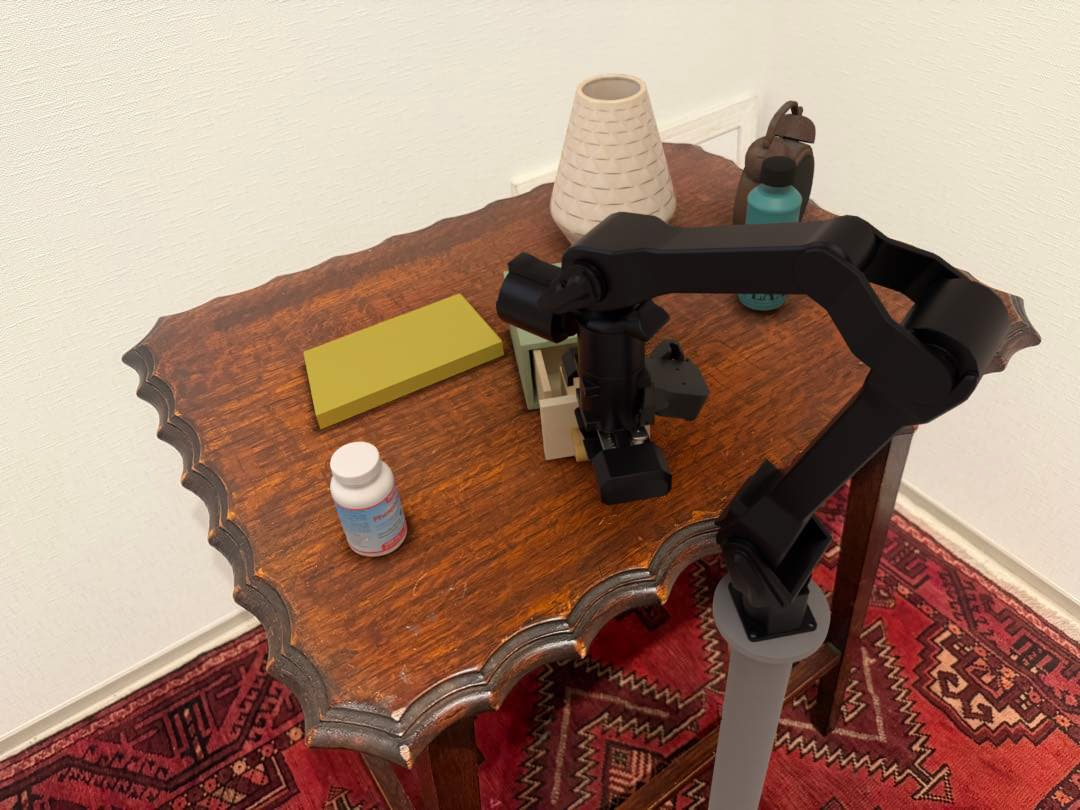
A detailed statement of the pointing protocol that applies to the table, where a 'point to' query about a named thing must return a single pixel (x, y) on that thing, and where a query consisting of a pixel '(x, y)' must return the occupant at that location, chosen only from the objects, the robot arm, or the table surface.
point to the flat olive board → (397, 358)
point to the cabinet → (522, 348)
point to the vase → (610, 157)
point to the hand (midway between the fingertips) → (613, 479)
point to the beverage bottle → (772, 213)
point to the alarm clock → (786, 144)
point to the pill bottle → (367, 500)
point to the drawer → (557, 405)
